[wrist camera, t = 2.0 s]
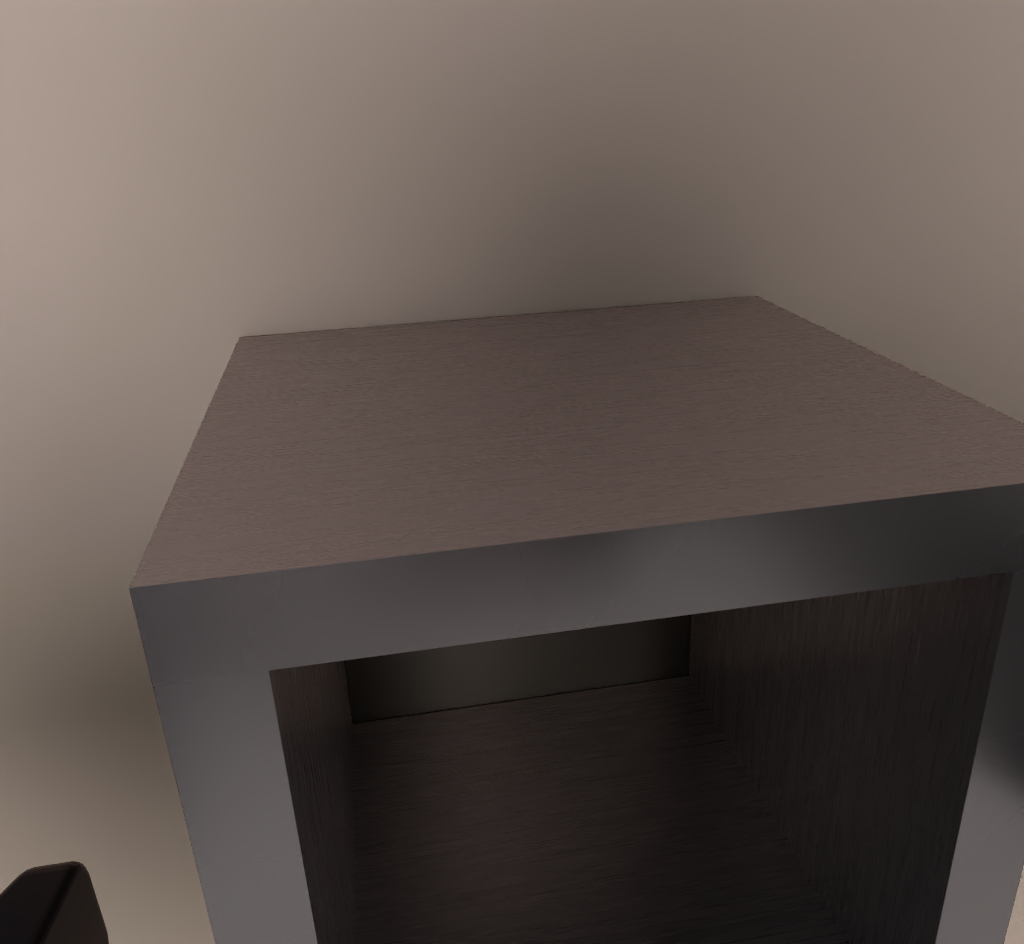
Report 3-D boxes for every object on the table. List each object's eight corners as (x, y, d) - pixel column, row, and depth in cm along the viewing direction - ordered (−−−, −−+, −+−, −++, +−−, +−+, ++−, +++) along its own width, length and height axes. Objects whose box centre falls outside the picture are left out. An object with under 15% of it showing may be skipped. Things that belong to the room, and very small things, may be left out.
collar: (757, 296, 12) (1122, 472, 6) (728, 705, 14) (967, 1083, 9) (238, 337, 11) (129, 587, 5) (310, 768, 13) (286, 1235, 8)
